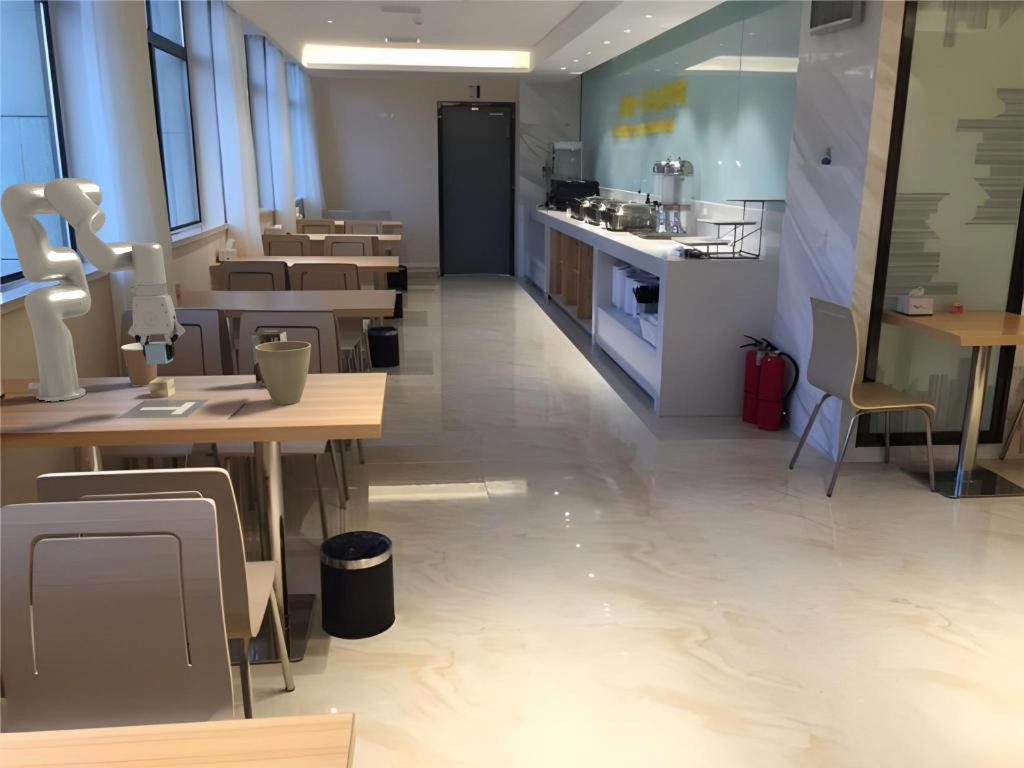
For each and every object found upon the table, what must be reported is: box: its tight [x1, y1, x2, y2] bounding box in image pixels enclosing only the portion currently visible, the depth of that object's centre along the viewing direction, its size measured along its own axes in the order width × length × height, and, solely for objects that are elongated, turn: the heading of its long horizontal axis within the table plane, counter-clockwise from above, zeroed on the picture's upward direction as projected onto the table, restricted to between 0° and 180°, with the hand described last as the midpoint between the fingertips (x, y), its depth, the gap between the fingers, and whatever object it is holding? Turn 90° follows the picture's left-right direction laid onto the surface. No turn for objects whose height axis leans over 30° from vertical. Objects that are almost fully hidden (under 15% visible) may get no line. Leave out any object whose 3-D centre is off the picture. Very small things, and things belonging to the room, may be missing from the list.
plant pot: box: [255, 340, 312, 406], centre depth 232 cm, size 15×15×16 cm
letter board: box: [117, 399, 210, 419], centre depth 225 cm, size 18×18×1 cm
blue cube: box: [145, 341, 174, 365], centre depth 221 cm, size 5×5×5 cm
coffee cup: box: [120, 342, 158, 387], centre depth 253 cm, size 10×10×12 cm
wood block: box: [148, 377, 176, 398], centre depth 239 cm, size 5×5×5 cm
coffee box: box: [251, 329, 289, 387], centre depth 252 cm, size 9×6×16 cm
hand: (159, 358), depth 221 cm, fingers closed on blue cube, 4 cm apart
